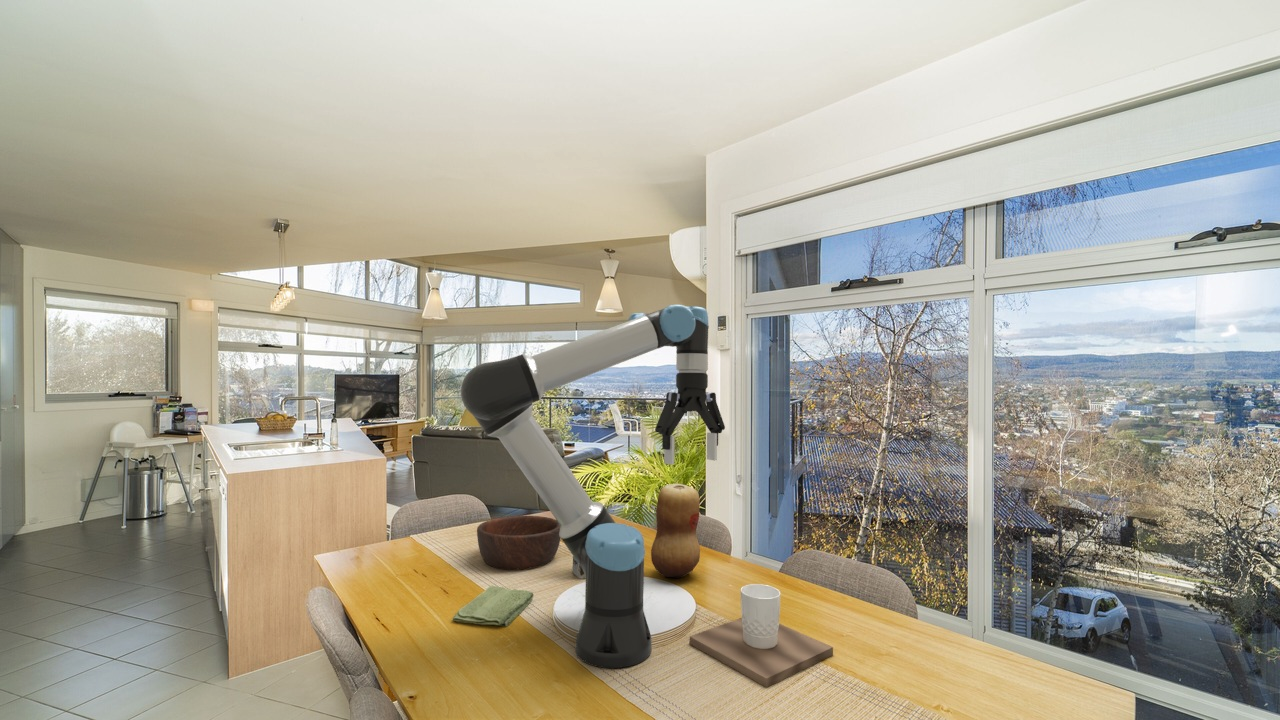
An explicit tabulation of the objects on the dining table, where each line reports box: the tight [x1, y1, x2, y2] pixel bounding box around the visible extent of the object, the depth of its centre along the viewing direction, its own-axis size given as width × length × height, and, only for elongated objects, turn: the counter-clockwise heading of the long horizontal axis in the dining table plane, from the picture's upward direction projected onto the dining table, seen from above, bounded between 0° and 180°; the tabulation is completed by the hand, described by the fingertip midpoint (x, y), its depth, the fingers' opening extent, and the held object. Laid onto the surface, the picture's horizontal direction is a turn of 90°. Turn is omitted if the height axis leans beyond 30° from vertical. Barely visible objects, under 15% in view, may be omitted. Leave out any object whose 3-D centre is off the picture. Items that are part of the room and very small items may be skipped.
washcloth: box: [452, 585, 535, 628], centre depth 128 cm, size 13×18×3 cm
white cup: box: [740, 583, 781, 649], centre depth 111 cm, size 8×8×10 cm
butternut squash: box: [650, 483, 701, 579], centre depth 153 cm, size 14×13×25 cm
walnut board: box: [689, 617, 834, 688], centre depth 111 cm, size 20×20×2 cm
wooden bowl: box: [476, 515, 561, 570], centre depth 166 cm, size 25×25×10 cm
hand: (691, 462), depth 130 cm, fingers open, 13 cm apart
